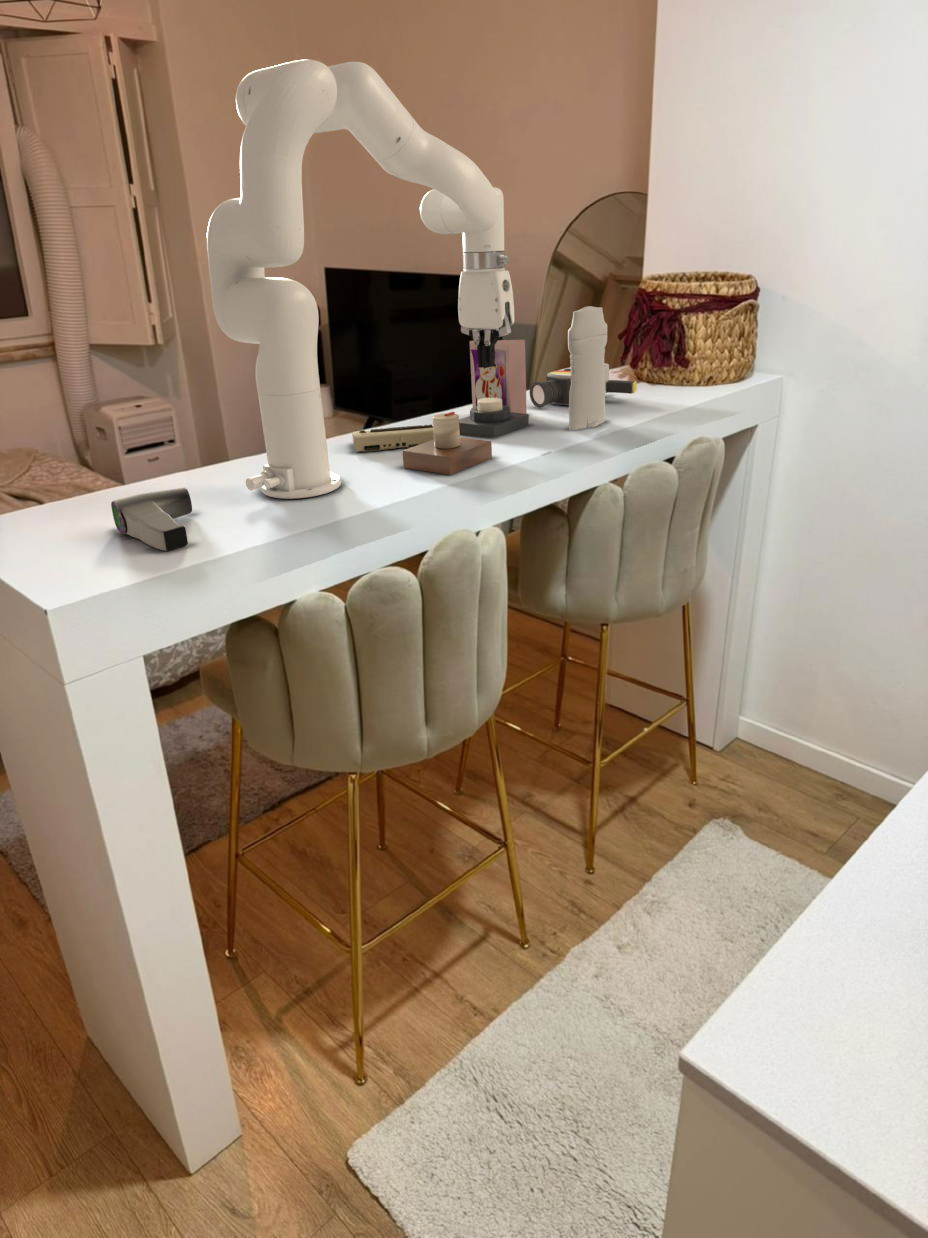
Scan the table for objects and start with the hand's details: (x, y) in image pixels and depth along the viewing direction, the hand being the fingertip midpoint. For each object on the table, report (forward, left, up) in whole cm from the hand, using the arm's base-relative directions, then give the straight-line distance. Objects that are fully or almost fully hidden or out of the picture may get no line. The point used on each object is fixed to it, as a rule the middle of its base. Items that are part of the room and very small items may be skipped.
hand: (486, 366), depth 168 cm
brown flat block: (-23, -8, -12) cm, 28 cm away
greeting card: (+12, +5, -12) cm, 18 cm away
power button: (+1, 0, -9) cm, 8 cm away
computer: (-17, +9, -12) cm, 23 cm away
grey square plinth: (+1, 0, -12) cm, 12 cm away
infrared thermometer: (-70, +5, -12) cm, 72 cm away
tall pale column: (+11, -16, -12) cm, 23 cm away
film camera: (+29, -5, -12) cm, 31 cm away
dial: (-23, -8, -9) cm, 26 cm away
